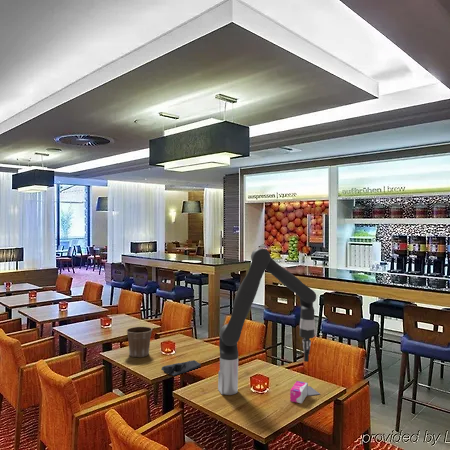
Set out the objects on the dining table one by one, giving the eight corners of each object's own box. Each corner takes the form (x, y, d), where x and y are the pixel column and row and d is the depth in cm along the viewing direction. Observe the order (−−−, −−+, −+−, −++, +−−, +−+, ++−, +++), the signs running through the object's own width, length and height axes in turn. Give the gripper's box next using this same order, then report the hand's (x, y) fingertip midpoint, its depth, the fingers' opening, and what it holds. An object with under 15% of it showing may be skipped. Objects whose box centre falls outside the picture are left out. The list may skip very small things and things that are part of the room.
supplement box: (307, 382, 202) (301, 392, 191) (307, 393, 202) (301, 404, 192) (296, 380, 204) (289, 389, 194) (296, 391, 204) (290, 401, 194)
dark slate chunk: (204, 369, 237) (204, 361, 237) (172, 377, 223) (172, 369, 223) (190, 362, 249) (190, 354, 249) (158, 369, 235) (158, 361, 235)
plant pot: (120, 354, 259) (121, 329, 259) (141, 349, 271) (142, 325, 271) (135, 360, 248) (136, 334, 248) (156, 354, 260) (157, 329, 260)
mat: (302, 396, 200) (302, 396, 200) (292, 388, 209) (292, 388, 209) (320, 394, 203) (320, 393, 203) (309, 386, 212) (309, 386, 212)
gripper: (299, 323, 215) (298, 356, 215) (300, 330, 202) (299, 365, 202) (313, 324, 214) (312, 357, 214) (315, 331, 201) (314, 366, 201)
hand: (306, 361), depth 208 cm, fingers closed
